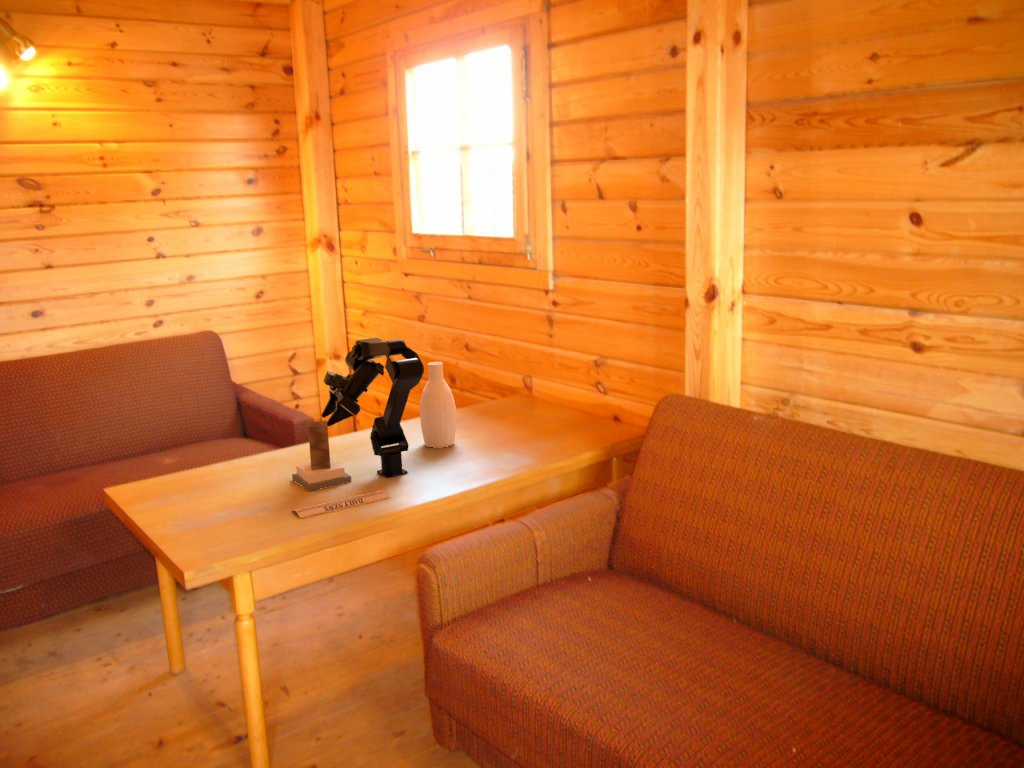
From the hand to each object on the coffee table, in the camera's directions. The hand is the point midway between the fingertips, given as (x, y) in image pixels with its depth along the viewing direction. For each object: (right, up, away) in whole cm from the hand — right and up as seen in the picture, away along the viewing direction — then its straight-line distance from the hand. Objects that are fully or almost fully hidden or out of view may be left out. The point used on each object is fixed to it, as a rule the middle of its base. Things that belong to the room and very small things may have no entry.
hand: (324, 421), depth 250 cm
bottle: (+31, -8, +22) cm, 39 cm away
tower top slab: (+1, -14, -8) cm, 17 cm away
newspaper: (+10, -21, -27) cm, 35 cm away
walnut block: (+1, -12, -9) cm, 15 cm away
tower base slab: (+1, -17, -8) cm, 19 cm away
